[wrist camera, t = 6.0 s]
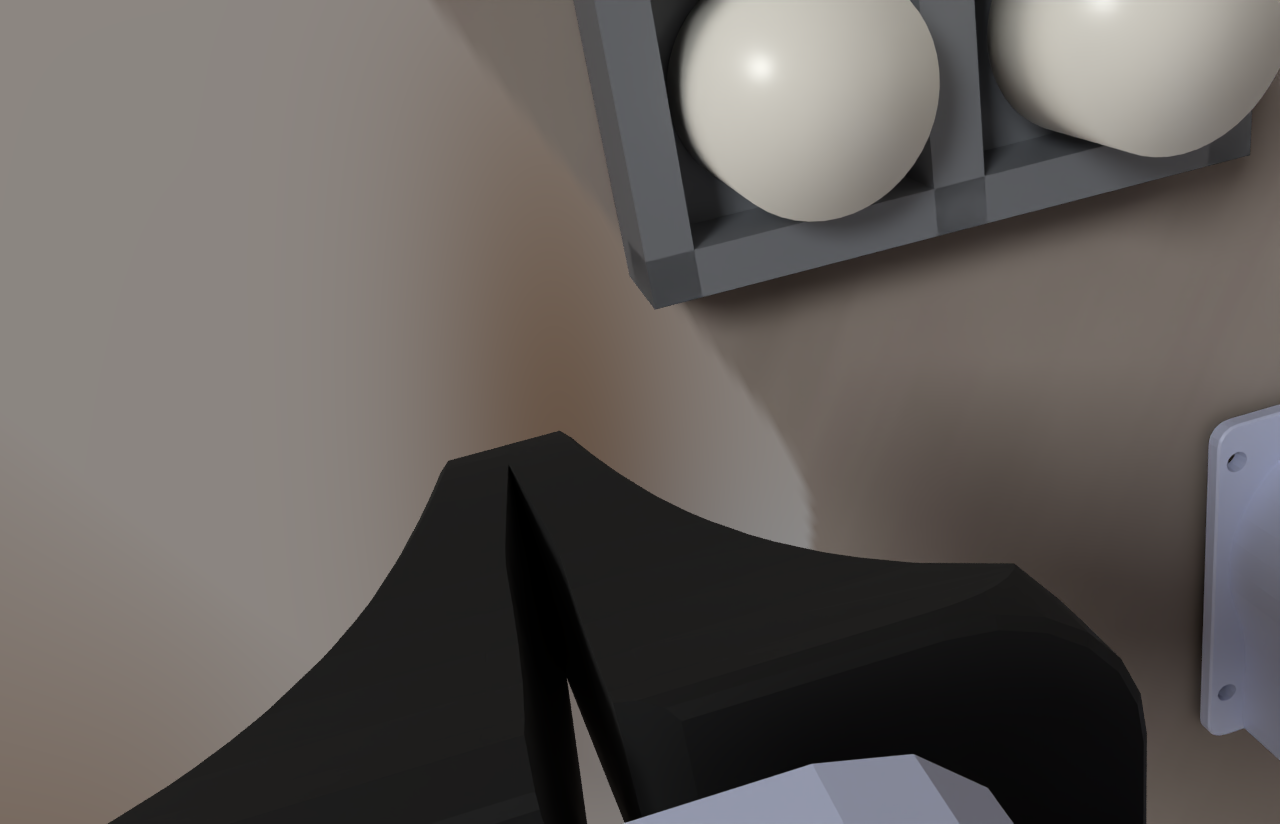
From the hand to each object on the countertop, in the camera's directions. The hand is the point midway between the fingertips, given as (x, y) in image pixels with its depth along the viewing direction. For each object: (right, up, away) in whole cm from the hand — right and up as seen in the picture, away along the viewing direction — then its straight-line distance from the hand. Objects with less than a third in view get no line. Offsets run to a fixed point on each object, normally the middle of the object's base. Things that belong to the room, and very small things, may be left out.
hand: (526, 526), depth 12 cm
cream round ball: (+4, +7, +8) cm, 12 cm away
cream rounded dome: (+9, +8, +8) cm, 15 cm away
